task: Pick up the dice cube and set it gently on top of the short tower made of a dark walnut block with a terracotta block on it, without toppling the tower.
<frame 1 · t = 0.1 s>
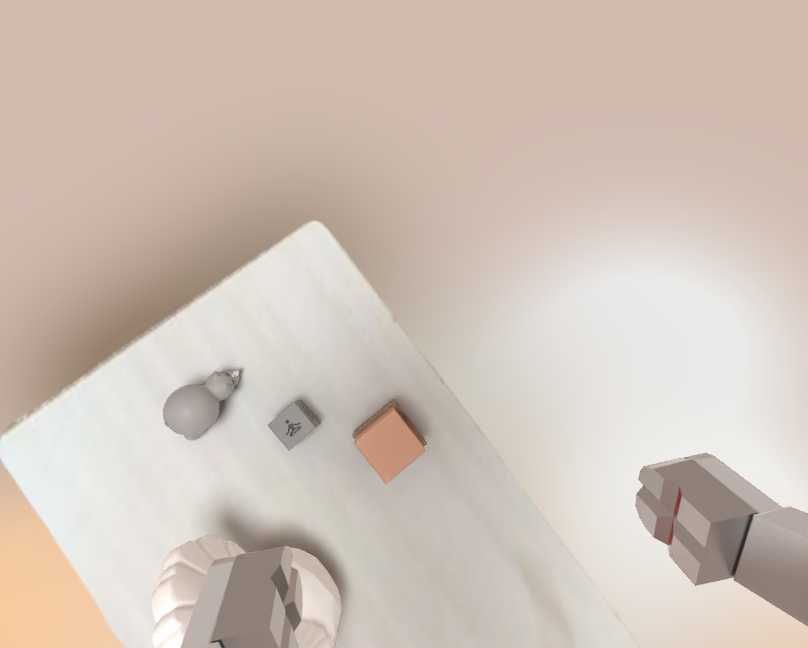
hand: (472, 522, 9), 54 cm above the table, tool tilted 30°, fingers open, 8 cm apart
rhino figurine: (216, 399, 61), on the table
decorative rooster: (277, 570, 58), on the table
terracotta top block: (389, 439, 57), point 5 cm above the table, touching walnut base block
walnut base block: (389, 434, 62), on the table, touching terracotta top block
dice cube: (298, 421, 61), on the table
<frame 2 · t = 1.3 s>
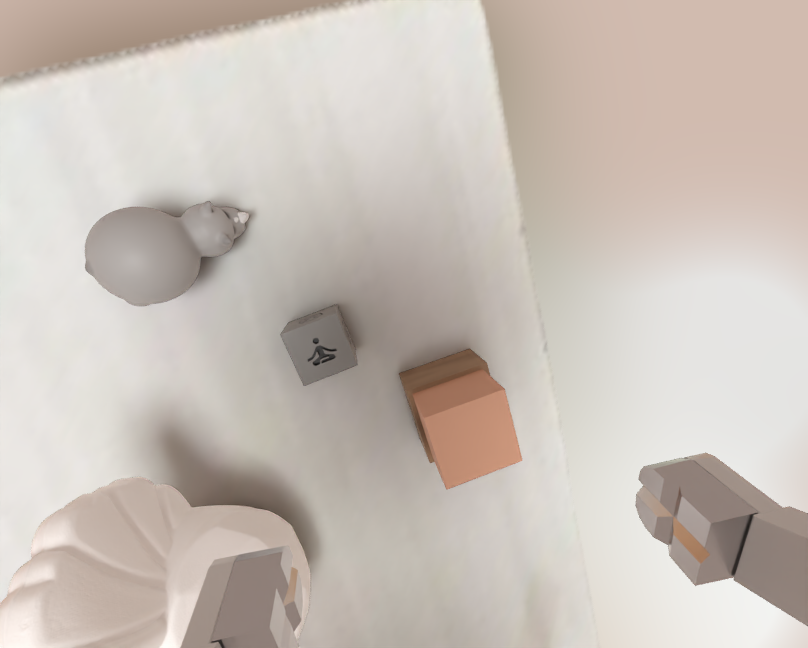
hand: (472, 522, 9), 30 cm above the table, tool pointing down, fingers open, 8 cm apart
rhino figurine: (192, 246, 34), on the table
decorative rooster: (227, 518, 40), on the table
terracotta top block: (457, 413, 36), point 5 cm above the table, touching walnut base block
walnut base block: (444, 393, 41), on the table, touching terracotta top block
dice cube: (322, 335, 38), on the table
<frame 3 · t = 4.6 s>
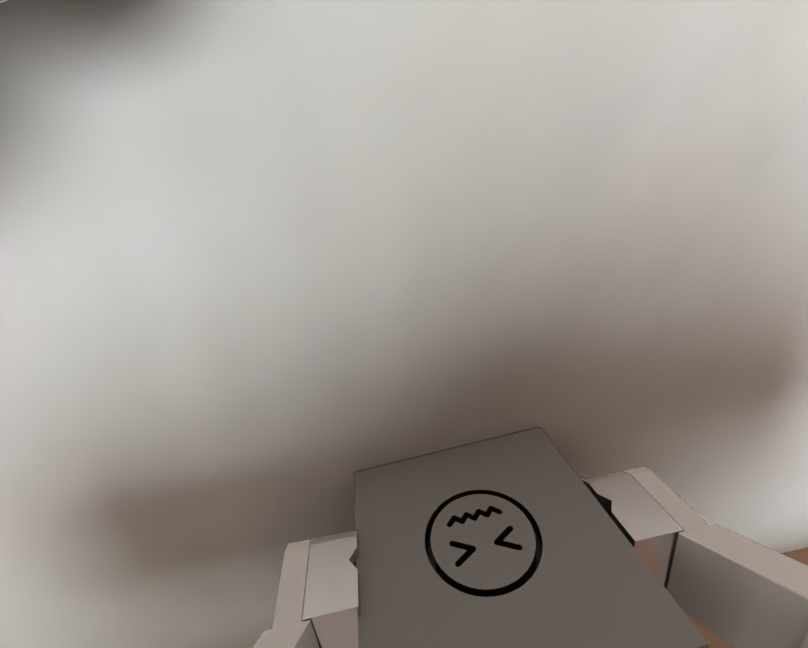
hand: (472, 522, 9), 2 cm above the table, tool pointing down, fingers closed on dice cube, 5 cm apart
walnut base block: (709, 627, 15), on the table, touching terracotta top block
dice cube: (458, 512, 11), on the table, touching gripper
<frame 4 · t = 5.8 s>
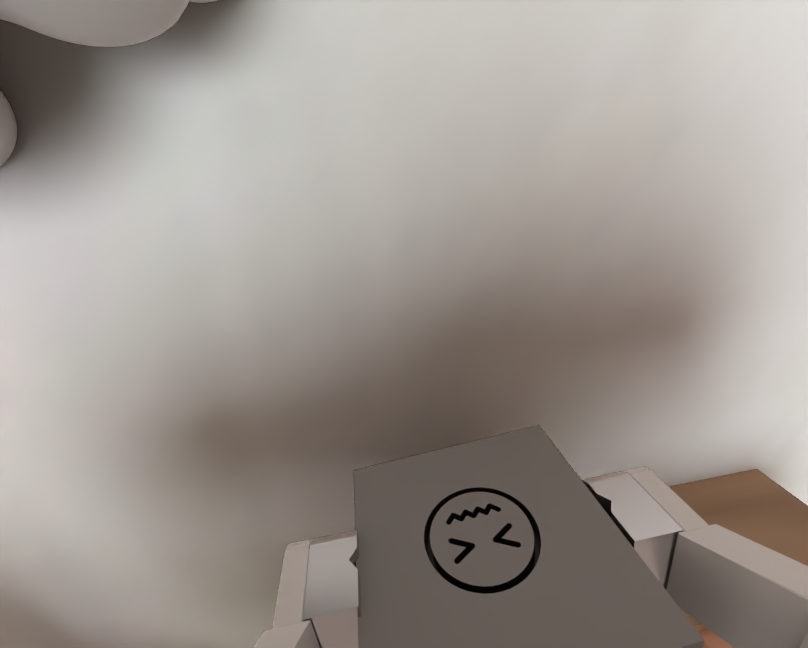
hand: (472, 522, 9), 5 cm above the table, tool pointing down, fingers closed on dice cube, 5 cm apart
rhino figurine: (25, 15, 8), on the table
walnut base block: (655, 544, 18), on the table
dice cube: (457, 509, 11), point 3 cm above the table, touching gripper
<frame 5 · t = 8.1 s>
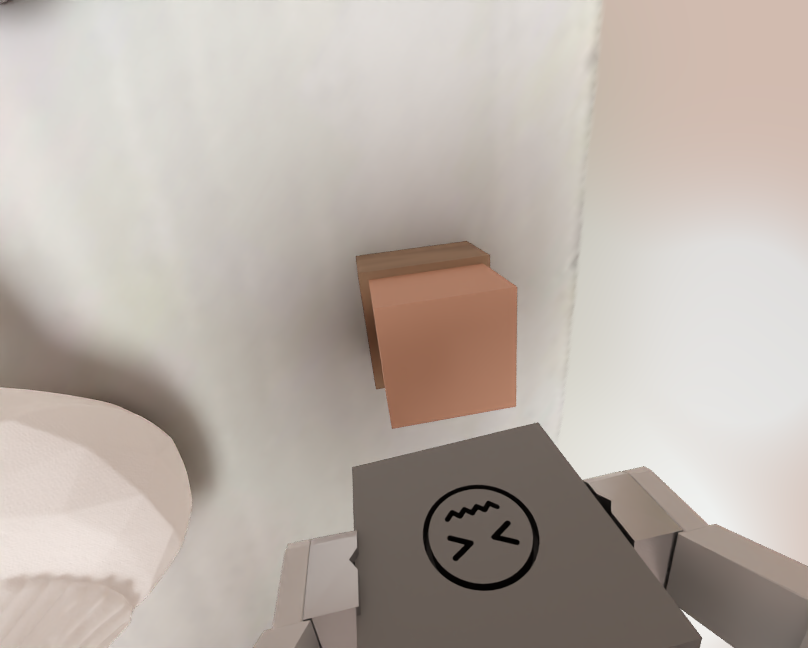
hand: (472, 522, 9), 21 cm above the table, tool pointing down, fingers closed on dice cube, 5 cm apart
decorative rooster: (85, 414, 28), on the table
terracotta top block: (431, 324, 24), point 5 cm above the table, touching walnut base block
walnut base block: (416, 300, 29), on the table, touching terracotta top block
dice cube: (455, 506, 11), point 19 cm above the table, touching gripper
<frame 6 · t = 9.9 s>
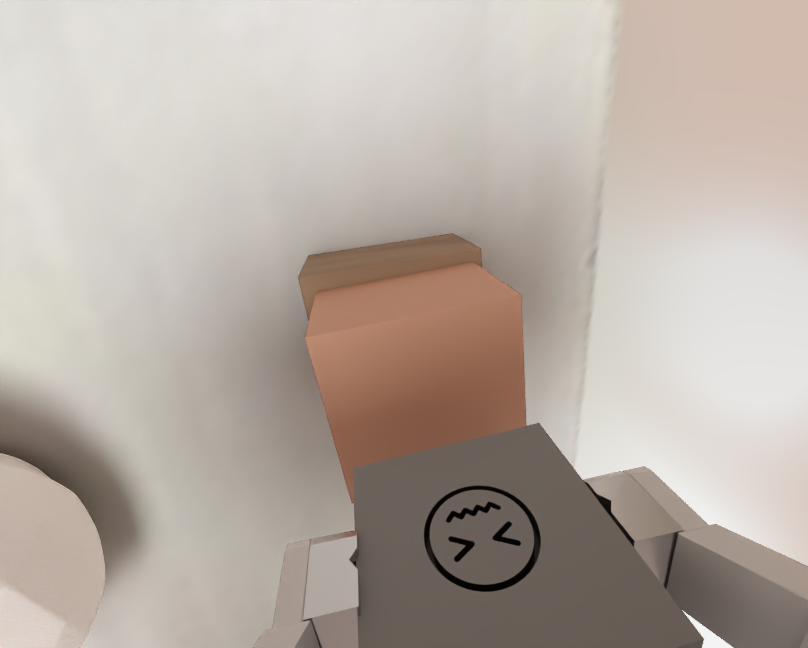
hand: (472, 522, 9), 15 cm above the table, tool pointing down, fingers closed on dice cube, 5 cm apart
terracotta top block: (407, 347, 18), point 5 cm above the table, touching walnut base block
walnut base block: (391, 310, 22), on the table, touching terracotta top block
dice cube: (456, 506, 11), point 13 cm above the table, touching gripper
when the fingers open (12 cm above the table, at t = 11.3 s): dice cube moves 1 cm, resting on terracotta top block.
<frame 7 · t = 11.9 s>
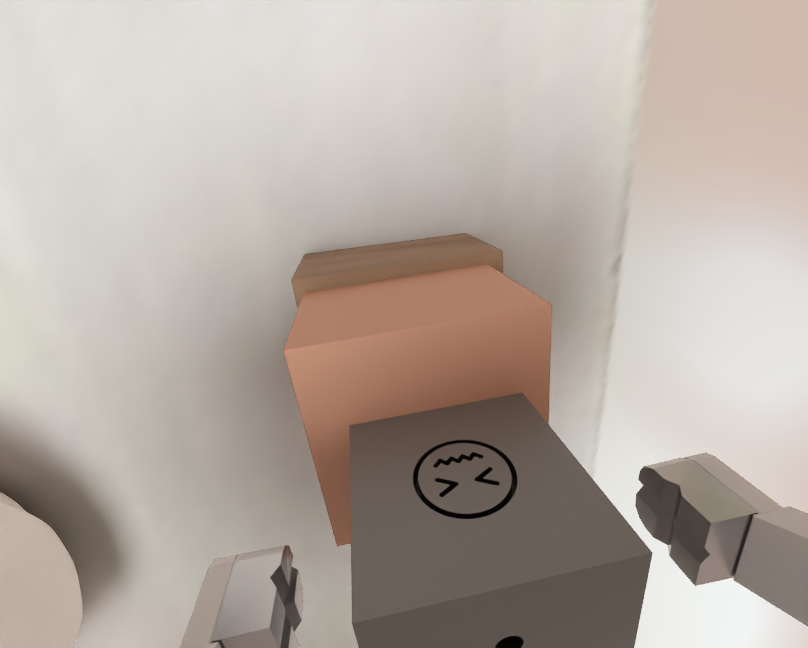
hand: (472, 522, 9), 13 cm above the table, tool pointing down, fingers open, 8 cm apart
terracotta top block: (408, 359, 16), point 5 cm above the table, touching dice cube, walnut base block
walnut base block: (395, 317, 20), on the table, touching terracotta top block
dice cube: (442, 471, 12), point 10 cm above the table, touching terracotta top block
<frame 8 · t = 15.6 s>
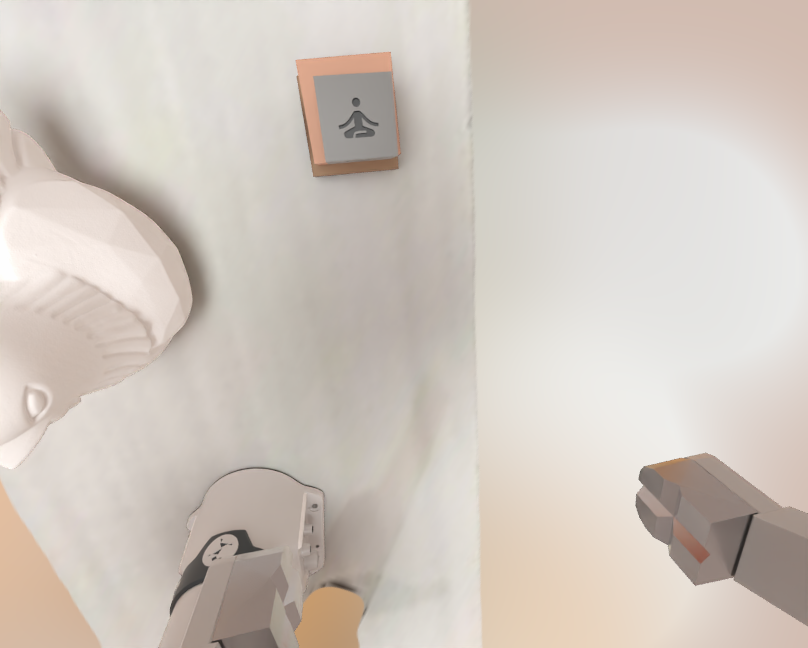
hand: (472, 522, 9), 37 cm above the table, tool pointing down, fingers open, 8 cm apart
decorative rooster: (114, 236, 39), on the table
terracotta top block: (350, 118, 34), point 5 cm above the table, touching dice cube, walnut base block
walnut base block: (349, 131, 38), on the table, touching terracotta top block
dice cube: (355, 127, 30), point 10 cm above the table, touching terracotta top block
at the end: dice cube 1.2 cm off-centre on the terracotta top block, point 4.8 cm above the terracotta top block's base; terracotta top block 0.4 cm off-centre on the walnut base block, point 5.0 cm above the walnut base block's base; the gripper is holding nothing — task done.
